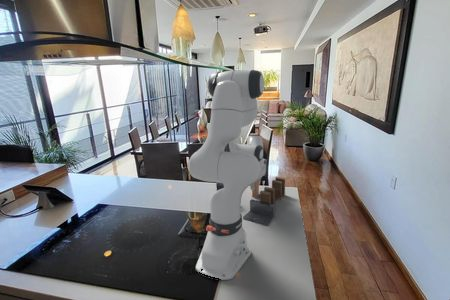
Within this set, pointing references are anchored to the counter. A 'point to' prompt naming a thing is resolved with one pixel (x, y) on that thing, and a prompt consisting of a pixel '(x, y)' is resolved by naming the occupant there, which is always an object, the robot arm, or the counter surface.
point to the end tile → (282, 184)
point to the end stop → (260, 212)
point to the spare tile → (256, 190)
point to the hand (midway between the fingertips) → (255, 187)
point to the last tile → (265, 197)
